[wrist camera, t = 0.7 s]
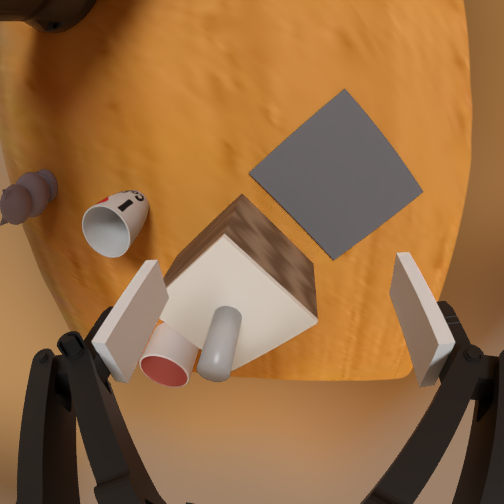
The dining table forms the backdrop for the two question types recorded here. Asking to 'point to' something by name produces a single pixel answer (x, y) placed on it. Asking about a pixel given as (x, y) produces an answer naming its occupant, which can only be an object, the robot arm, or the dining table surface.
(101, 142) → the dining table surface
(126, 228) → the cup
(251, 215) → the box
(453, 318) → the robot arm
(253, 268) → the lid
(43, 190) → the cat figurine
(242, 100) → the dining table surface
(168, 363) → the cup
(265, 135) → the dining table surface
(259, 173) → the mat
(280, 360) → the dining table surface
